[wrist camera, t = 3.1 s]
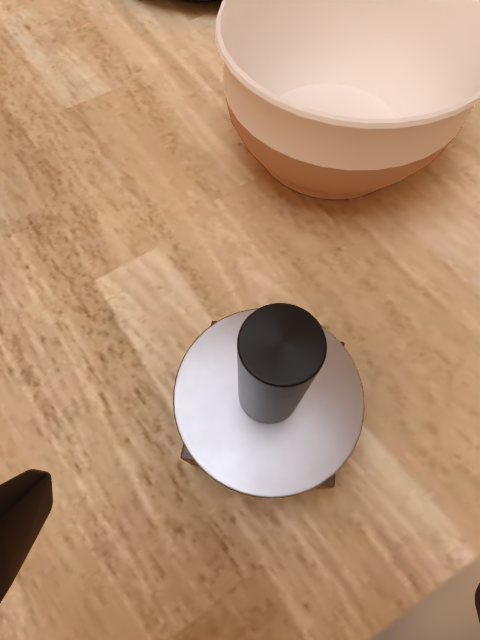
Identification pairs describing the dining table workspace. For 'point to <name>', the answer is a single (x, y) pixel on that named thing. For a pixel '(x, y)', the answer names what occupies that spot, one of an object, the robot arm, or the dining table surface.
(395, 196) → the dining table surface
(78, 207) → the dining table surface
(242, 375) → the lid
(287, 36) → the bowl
